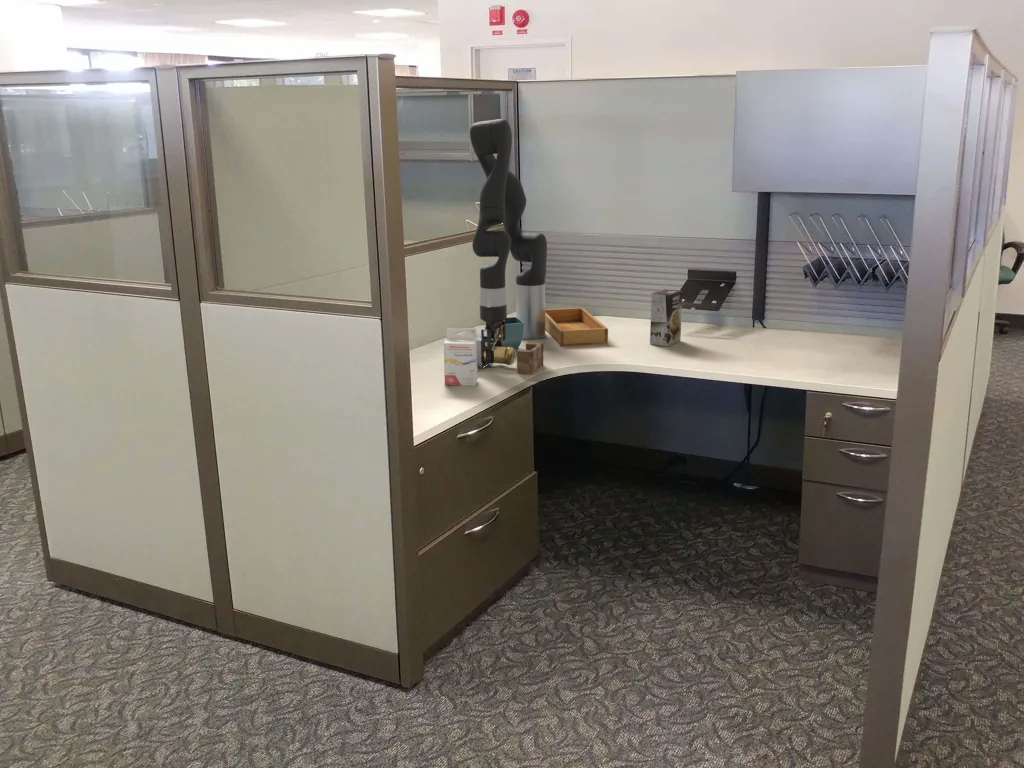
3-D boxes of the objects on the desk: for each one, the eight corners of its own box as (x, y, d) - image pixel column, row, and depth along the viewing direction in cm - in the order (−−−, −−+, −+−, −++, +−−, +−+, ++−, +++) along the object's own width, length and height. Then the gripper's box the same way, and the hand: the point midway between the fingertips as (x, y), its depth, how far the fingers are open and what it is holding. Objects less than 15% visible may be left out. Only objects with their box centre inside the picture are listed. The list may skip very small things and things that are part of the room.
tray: (607, 344, 285) (608, 327, 284) (560, 347, 283) (560, 329, 281) (583, 323, 314) (583, 307, 313) (540, 325, 312) (539, 309, 310)
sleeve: (465, 360, 268) (464, 332, 265) (490, 362, 265) (490, 334, 263) (455, 367, 261) (454, 338, 258) (481, 369, 258) (480, 340, 256)
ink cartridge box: (444, 385, 243) (442, 331, 239) (446, 380, 248) (444, 327, 244) (476, 385, 243) (474, 332, 239) (478, 380, 248) (476, 327, 243)
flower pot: (496, 353, 275) (496, 324, 272) (489, 347, 283) (489, 318, 280) (524, 351, 277) (524, 322, 275) (517, 344, 285) (516, 316, 283)
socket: (528, 364, 263) (528, 342, 261) (543, 365, 262) (543, 343, 260) (516, 373, 254) (516, 350, 252) (532, 374, 252) (532, 352, 250)
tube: (456, 363, 262) (456, 345, 260) (463, 358, 266) (462, 341, 265) (509, 367, 257) (509, 349, 255) (515, 362, 261) (515, 345, 260)
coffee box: (667, 347, 280) (669, 295, 275) (649, 344, 284) (650, 292, 279) (681, 341, 287) (683, 290, 282) (663, 338, 291) (664, 288, 286)
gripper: (489, 297, 263) (490, 353, 268) (471, 307, 250) (472, 365, 255) (514, 298, 261) (514, 355, 266) (497, 308, 248) (498, 367, 253)
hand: (494, 360), depth 260 cm, fingers open, 6 cm apart
